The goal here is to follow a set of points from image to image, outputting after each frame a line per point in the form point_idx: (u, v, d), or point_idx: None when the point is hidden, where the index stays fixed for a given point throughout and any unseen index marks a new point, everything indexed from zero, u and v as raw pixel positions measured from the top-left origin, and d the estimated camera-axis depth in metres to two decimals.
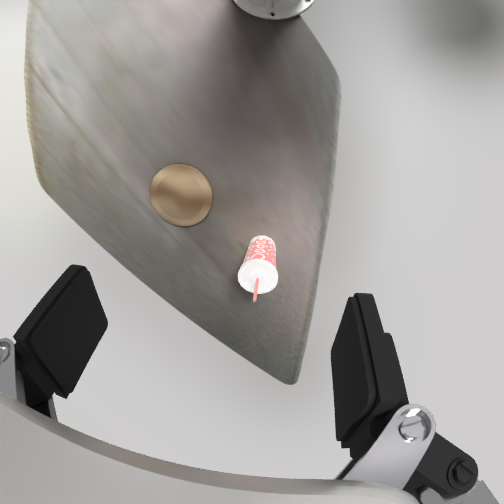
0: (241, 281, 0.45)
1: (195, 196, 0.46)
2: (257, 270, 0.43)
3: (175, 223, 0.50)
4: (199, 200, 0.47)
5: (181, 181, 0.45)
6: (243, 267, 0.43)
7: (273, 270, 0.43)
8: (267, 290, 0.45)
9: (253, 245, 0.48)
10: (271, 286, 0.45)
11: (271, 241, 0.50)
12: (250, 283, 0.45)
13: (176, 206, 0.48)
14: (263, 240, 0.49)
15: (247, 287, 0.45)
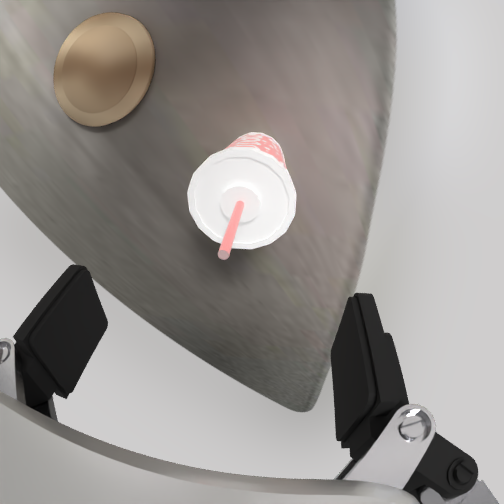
0: (198, 214, 0.17)
1: (121, 60, 0.18)
2: (238, 177, 0.15)
3: (89, 123, 0.22)
4: (129, 66, 0.18)
5: (100, 40, 0.17)
6: (200, 170, 0.15)
7: (283, 176, 0.15)
8: (267, 239, 0.17)
9: (234, 141, 0.20)
10: (279, 228, 0.17)
11: (275, 142, 0.22)
12: (222, 220, 0.17)
13: (90, 88, 0.20)
14: (257, 135, 0.21)
15: (215, 231, 0.17)
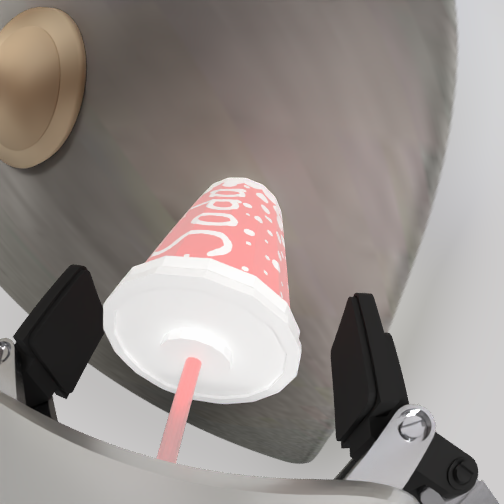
0: (130, 357, 0.09)
1: (42, 74, 0.11)
2: (184, 318, 0.07)
3: (15, 164, 0.14)
4: (51, 81, 0.11)
5: (20, 47, 0.09)
6: (114, 302, 0.07)
7: (277, 325, 0.07)
8: (248, 397, 0.09)
9: (197, 202, 0.12)
10: (267, 386, 0.09)
11: (268, 195, 0.14)
12: (170, 369, 0.09)
13: (11, 116, 0.12)
14: (238, 188, 0.13)
15: (162, 379, 0.09)
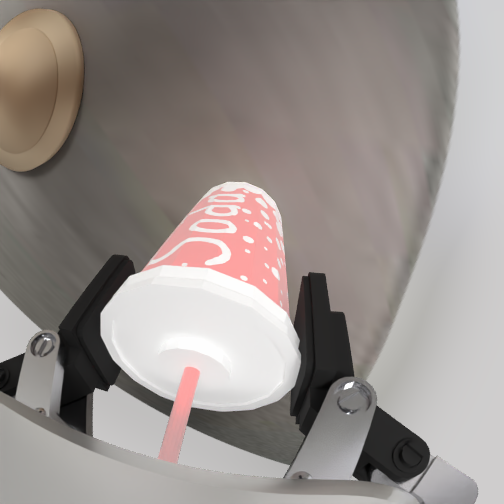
0: (128, 365, 0.09)
1: (40, 76, 0.10)
2: (183, 328, 0.07)
3: (13, 167, 0.14)
4: (48, 84, 0.11)
5: (18, 49, 0.09)
6: (111, 311, 0.07)
7: (276, 336, 0.07)
8: (247, 405, 0.09)
9: (195, 208, 0.12)
10: (266, 394, 0.09)
11: (267, 200, 0.14)
12: None
13: (9, 119, 0.12)
14: (237, 193, 0.13)
15: (160, 387, 0.09)
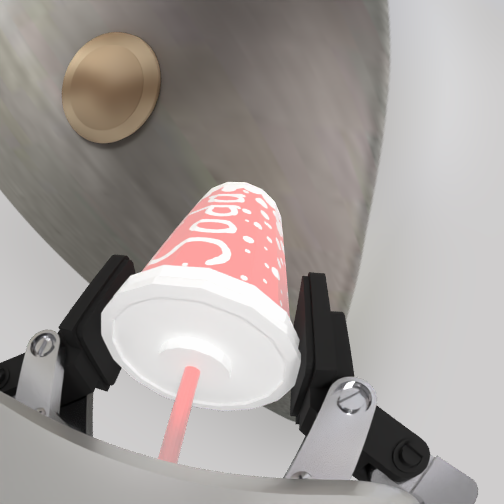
0: (129, 365, 0.09)
1: (128, 80, 0.20)
2: (183, 328, 0.07)
3: (96, 140, 0.23)
4: (136, 86, 0.20)
5: (108, 59, 0.19)
6: (112, 310, 0.07)
7: (276, 335, 0.07)
8: (247, 404, 0.09)
9: (195, 208, 0.12)
10: (267, 394, 0.09)
11: (267, 200, 0.14)
12: None
13: (98, 106, 0.21)
14: (237, 193, 0.13)
15: (160, 387, 0.09)
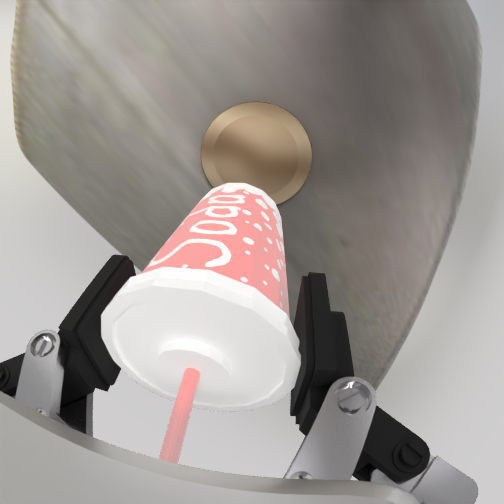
0: (129, 366, 0.09)
1: (284, 157, 0.27)
2: (183, 329, 0.07)
3: None
4: (291, 164, 0.28)
5: (263, 131, 0.26)
6: (112, 312, 0.07)
7: (276, 337, 0.07)
8: (247, 406, 0.09)
9: (196, 209, 0.12)
10: (267, 395, 0.09)
11: (267, 201, 0.14)
12: None
13: (248, 173, 0.28)
14: (237, 194, 0.13)
15: (160, 388, 0.09)
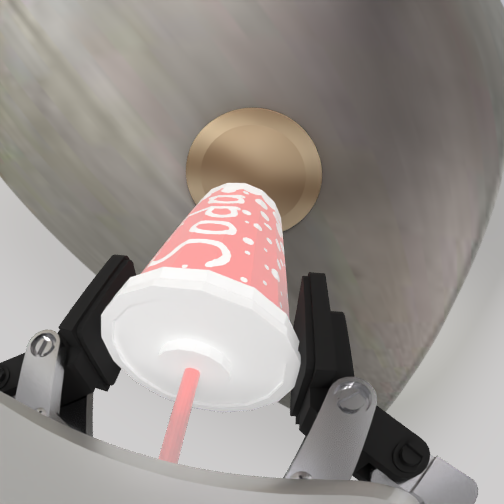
0: (129, 366, 0.09)
1: (288, 176, 0.22)
2: (182, 329, 0.07)
3: None
4: (296, 185, 0.23)
5: (261, 144, 0.21)
6: (112, 312, 0.07)
7: (276, 337, 0.07)
8: (247, 406, 0.09)
9: (195, 209, 0.12)
10: (266, 395, 0.09)
11: (267, 201, 0.14)
12: None
13: None
14: (237, 194, 0.13)
15: (160, 388, 0.09)
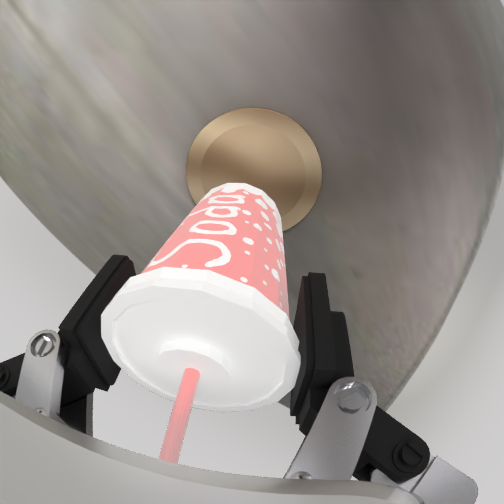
0: (129, 366, 0.09)
1: (288, 176, 0.22)
2: (182, 329, 0.07)
3: None
4: (296, 185, 0.23)
5: (261, 144, 0.21)
6: (112, 312, 0.07)
7: (276, 337, 0.07)
8: (247, 406, 0.09)
9: (195, 209, 0.12)
10: (266, 395, 0.09)
11: (267, 201, 0.14)
12: None
13: None
14: (237, 194, 0.13)
15: (160, 388, 0.09)
